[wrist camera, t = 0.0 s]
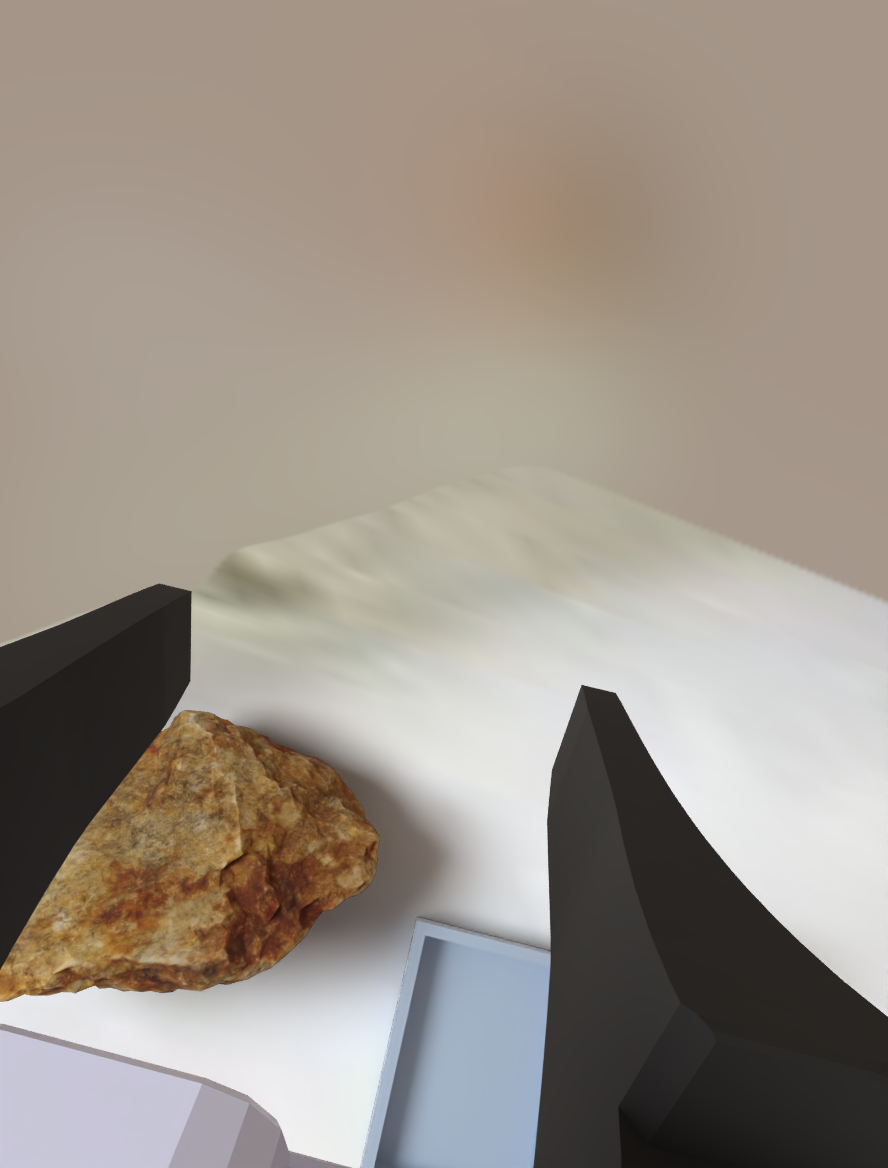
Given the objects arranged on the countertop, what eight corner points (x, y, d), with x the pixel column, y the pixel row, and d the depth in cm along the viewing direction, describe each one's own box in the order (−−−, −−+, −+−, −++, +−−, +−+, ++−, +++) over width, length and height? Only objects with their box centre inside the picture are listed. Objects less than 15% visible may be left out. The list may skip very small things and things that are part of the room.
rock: (395, 783, 46) (344, 646, 42) (389, 995, 32) (311, 816, 28) (106, 860, 47) (32, 733, 43) (-24, 1098, 33) (-149, 938, 29)
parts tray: (531, 1213, 37) (539, 1235, 35) (360, 1167, 37) (357, 1186, 35) (572, 956, 41) (580, 962, 39) (416, 917, 41) (417, 920, 39)
